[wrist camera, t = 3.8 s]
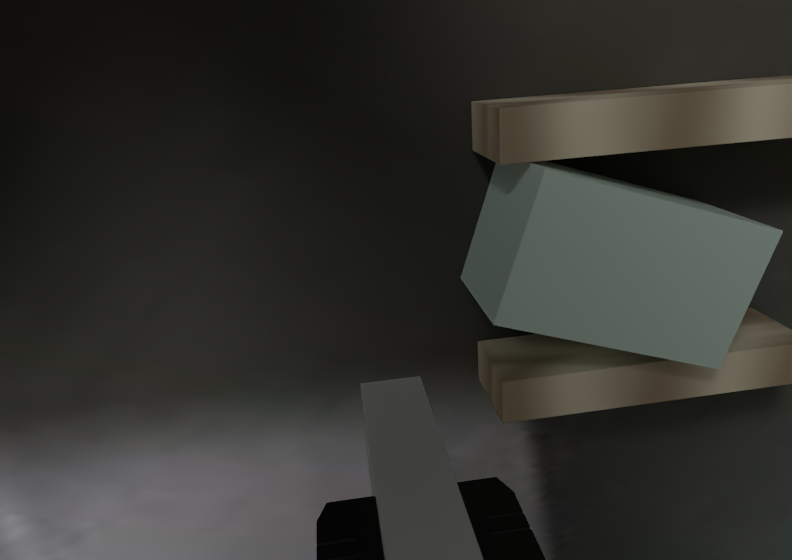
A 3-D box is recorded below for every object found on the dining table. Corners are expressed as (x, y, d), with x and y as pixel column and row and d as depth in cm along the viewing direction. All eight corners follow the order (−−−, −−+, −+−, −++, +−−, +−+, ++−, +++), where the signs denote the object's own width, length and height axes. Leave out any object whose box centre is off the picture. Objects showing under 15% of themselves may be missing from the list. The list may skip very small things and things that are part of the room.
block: (459, 276, 28) (493, 324, 23) (499, 148, 26) (545, 169, 21) (649, 317, 30) (719, 369, 25) (697, 200, 28) (783, 230, 23)
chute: (478, 378, 30) (502, 423, 26) (471, 101, 25) (499, 108, 22) (746, 343, 31) (805, 381, 27) (783, 75, 27) (860, 77, 23)
